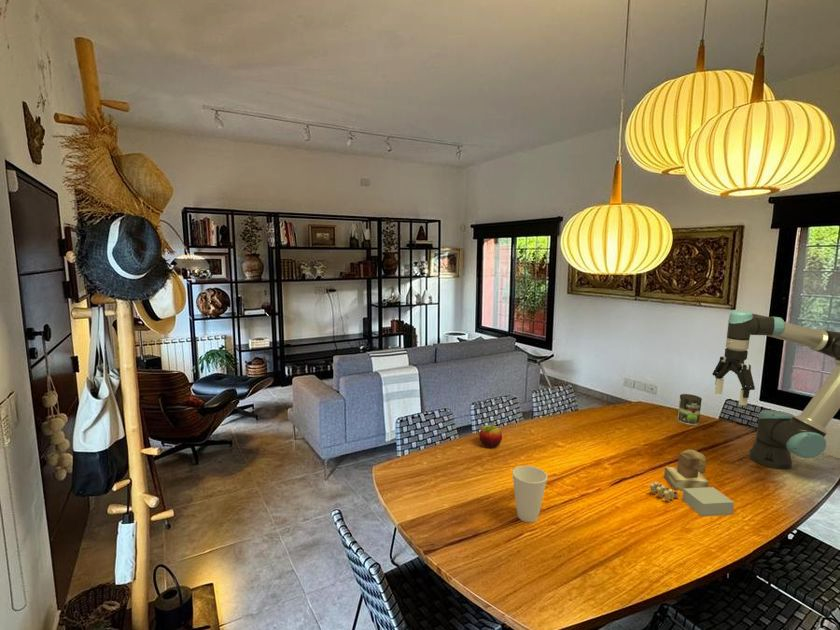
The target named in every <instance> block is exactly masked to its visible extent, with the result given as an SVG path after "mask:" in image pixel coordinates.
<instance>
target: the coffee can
mask: <svg viewBox="0 0 840 630" xmlns="http://www.w3.org/2000/svg"><path fill="white" fill-rule="evenodd" d="M702 401H703V399H702V397H700V396H698V395H694V394H689V393H688V394H687V393H682V394H680V395H679V403H678V412H677V421H678V422H679V423H681V424H684V425H688V426H689V425H690V426H697V425H699V424H700V423H699V422H700V418H701V417H700V416H701V407H702Z"/></svg>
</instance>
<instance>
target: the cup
mask: <svg viewBox="0 0 840 630" xmlns="http://www.w3.org/2000/svg"><path fill="white" fill-rule="evenodd" d="M511 473H512V474H511V475H512V479H513V491H514V499H515V500H514V501H515V508H516V512H517V513H516V514H517V517H518V519H520V520H521V521H523V522H526V523H533V522H534V523H535V522H536V521H537V520H538V517H539V514H540V511H541V507H542V503H543V497H544V493H545V489H546V484H547V481H548V474H547V473H546V472H545V471H544V470H542V468H539V467H536V466H532V465H520V466H516V467H515V468H513V470H512V472H511Z"/></svg>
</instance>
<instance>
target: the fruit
mask: <svg viewBox="0 0 840 630" xmlns="http://www.w3.org/2000/svg"><path fill="white" fill-rule="evenodd" d="M478 435H479V441H480V443H481V444H482V445H483V447H486V448H490V449H491V448H493V449H494V448H496V447H498V446H499V445H500V444H501V442H502V439H503V434H502V431H501V429H500V428H499V427H497V425H493V424H486V425H483V426H481V428H480V431H479V434H478Z"/></svg>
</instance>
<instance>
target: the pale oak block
mask: <svg viewBox="0 0 840 630" xmlns="http://www.w3.org/2000/svg"><path fill="white" fill-rule="evenodd" d="M677 469H678V467H671V466H665V467H664V475H663V477H664V479H665V481H666V482H667V483H668V484H669V485H670V486H671V487H673V488H672V490H673V491H677V490H680V492H683V489H685V488H705V487H709V483H710V482H709V480H708V479H706V477H705V476H704V475H703V473H700V472H699V471H698V478H685V477H684V476H682V475H681V474H680V473H678V472H677Z"/></svg>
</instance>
